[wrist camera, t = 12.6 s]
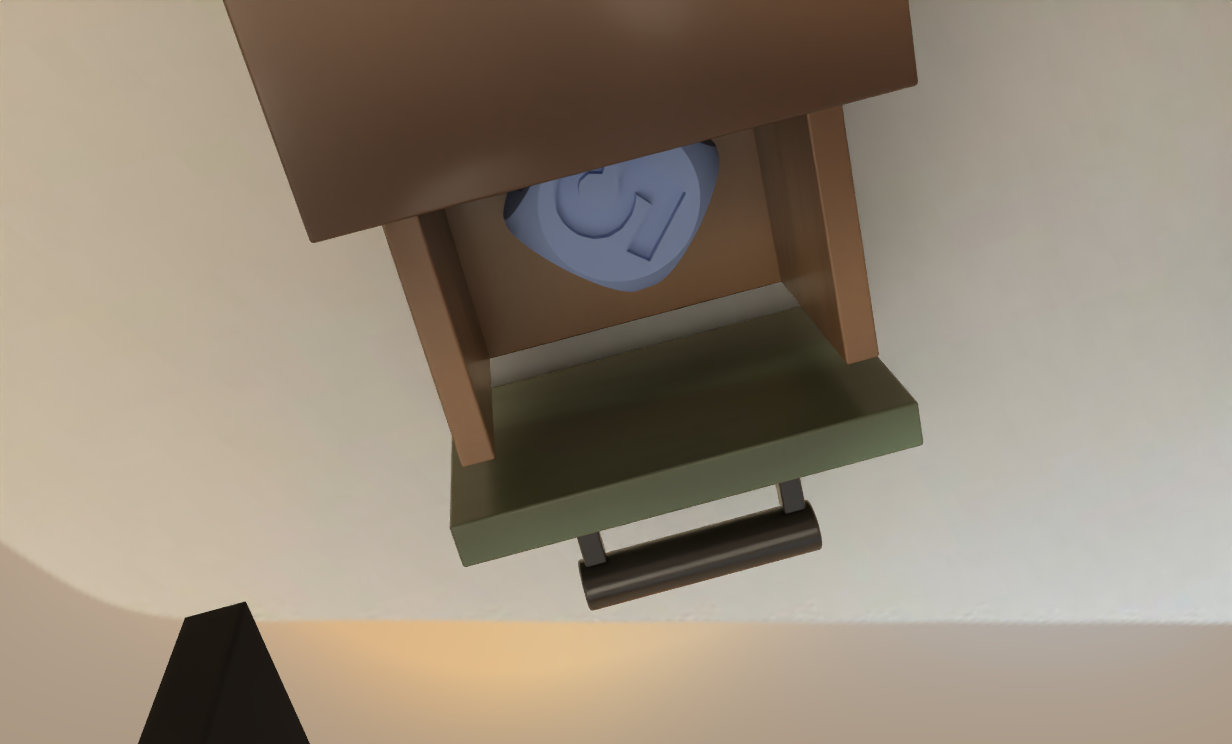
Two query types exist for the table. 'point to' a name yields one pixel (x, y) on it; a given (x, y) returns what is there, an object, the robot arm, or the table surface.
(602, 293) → the drawer
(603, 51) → the cabinet
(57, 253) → the table surface
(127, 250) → the table surface
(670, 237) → the decorative dice
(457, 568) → the table surface
